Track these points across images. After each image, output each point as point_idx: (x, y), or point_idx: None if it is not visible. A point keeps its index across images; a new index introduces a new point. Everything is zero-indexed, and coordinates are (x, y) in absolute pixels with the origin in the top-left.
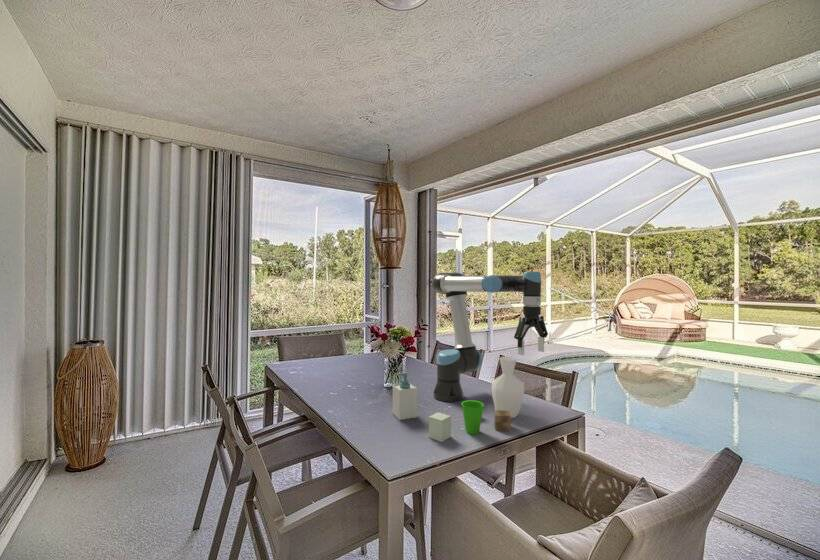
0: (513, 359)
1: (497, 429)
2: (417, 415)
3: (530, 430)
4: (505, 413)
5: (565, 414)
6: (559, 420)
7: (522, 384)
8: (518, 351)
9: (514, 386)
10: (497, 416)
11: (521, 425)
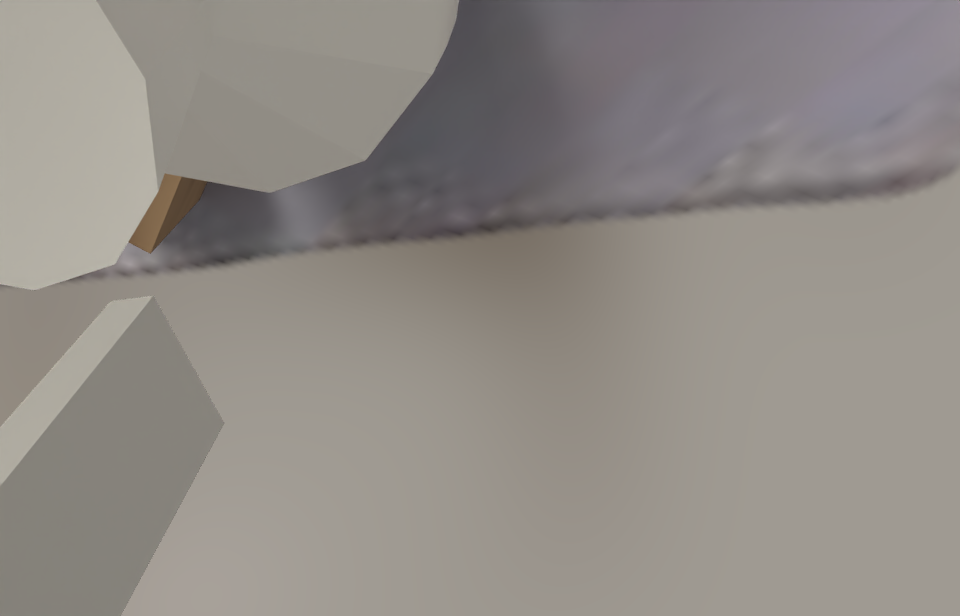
0: (87, 147)
1: None
2: None
3: (339, 240)
4: None
5: (856, 115)
6: (678, 192)
7: (344, 153)
8: (75, 362)
9: (202, 174)
10: None
11: None
